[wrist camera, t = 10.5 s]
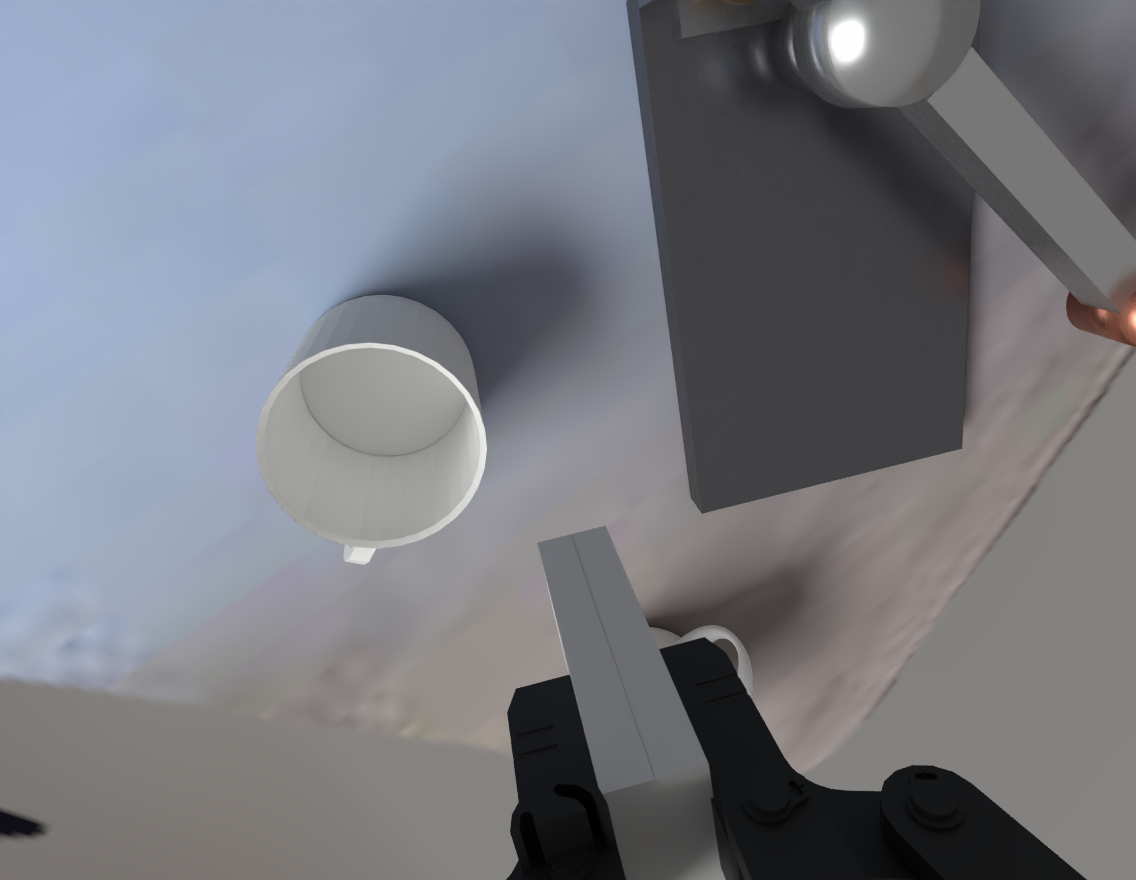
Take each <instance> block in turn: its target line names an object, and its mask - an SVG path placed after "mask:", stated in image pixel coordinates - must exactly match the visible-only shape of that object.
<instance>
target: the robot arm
mask: <svg viewBox="0 0 1136 880" xmlns="http://www.w3.org/2000/svg"><path fill="white" fill-rule="evenodd" d="M537 544H538V548H539V553H540V557H541V561H542V565H543V570H544V574H545V578H546V582H547V587H548V591H549V595H550V599H551V604H552V608H553V612H554V616H555V621H556V625H557V629H558V633H559V638H560V642H561V646H562V650H563V654H564V658H565V662H566V666H567V670H568V674H569V675H566V676H562V677H559V678H555V679H551V680H547V681H544V682H540V683H536V684H532V685H529V686H525V687H521V688H517V689H516V690H515V693H514V696H513V698H512V701H511V704H510V707H509V709H508V712H507V714H508V722H509V730H510V737H511V745H512V753H513V759H514V768H515V776H516V783H517V792H518V799H519V803H518V805H517V806H516V808H515V810H514V812H513V814H512V820H511V829H510V833H511V836H512V839H513V843H514V845H515V849H516V852H517V855H518V859H519V861H518V863H517V865H516V867H515V868H514V870H513V872H512V873H511V875H510V876H509V877H508V878H507V879H506V880H725V879H726V880H1086V879H1085V878H1084V877H1083V876H1082V875H1080V874H1079V873H1078V872H1077V871H1076V870H1075V869H1073V868H1072V867H1071V866H1070V865H1069V864H1067V863H1066V862H1065V861H1064V860H1063V859H1061V858H1060V857H1059V856H1058V855H1057V854H1055V853H1054V852H1053V851H1052V850H1051V849H1049V848H1048V847H1047V846H1046V845H1044V844H1043V843H1042V842H1041V841H1040V840H1039V839H1037V838H1036V837H1035V836H1034V835H1033V834H1031V833H1030V832H1029V831H1028V830H1027V829H1025V828H1024V827H1023V826H1022V825H1020V824H1019V823H1018V822H1017V821H1016V820H1015V819H1013V818H1012V817H1011V816H1010V815H1009V814H1007V813H1006V812H1005V811H1004V810H1003V809H1002V808H1000V807H999V806H998V805H997V804H996V803H994V802H993V801H992V800H991V799H989V798H988V797H987V796H986V795H985V794H984V793H982V792H981V791H980V790H978V788H976V787H975V786H974V785H973V784H972V783H970V782H968V781H967V780H965V779H964V778H962V777H960V776H959V775H957V774H956V773H954V772H952V771H948V770H945V769H941V768H938V767H935V766H922V765H921V766H920V765H918V766H917V765H912V766H909V767H906V768H903V769H900V770H897V771H895V772H894V773H893V774H892V775H891V776H890V777H889V778H887V779H886V780H885V781H884V784H883V787H882V791H879V792H877V791H845V790H836V789H830V788H826V787H823V786H820V785H817V784H815V783H813V782H811V781H809V780H807V779H806V778H805V777H804V776H802V775H801V774H799V773H797V772H796V771H795V770H794V769H793V768H792V767H791V766H790V765H789V763H788V762H787V761H786V759H785V758H784V756H783V754H782V753H781V751H780V749H779V747H778V745H777V744H776V742H775V740H774V738H773V736H772V735H771V733H770V731H769V729H768V727H767V726H766V724H765V722H764V720H763V719H762V717H761V715H760V713H759V711H758V710H757V708H756V706H755V704H754V702H753V701H752V699H751V697H750V695H748V693H747V690H746V688H745V686H744V684H743V683H742V681H741V679H740V677H738V674H737V672H736V670H735V668H734V667H733V665H732V663H731V661H730V659H729V658H728V656H727V654H726V652H724V651H723V650H722V649H720V648H719V647H718V646H716V645H715V644H713V643H712V642H711V641H709V640H708V639H707V638H705V637H703V638H699V639H695V640H691V641H688V642H684V643H680V644H676V645H672V646H669V647H665V648H661V649H659V648H658V646H657V644H656V642H655V639H654V637H653V635H652V632H651V630H650V628H649V625H648V623H647V621H646V618H645V616H644V614H643V612H642V609H641V607H640V605H639V602H638V600H637V598H636V595H635V593H634V591H633V588H632V586H631V584H630V582H629V579H628V577H627V575H626V572H625V570H624V568H623V565H622V563H621V561H620V559H619V556H618V554H617V552H616V549H615V547H614V545H613V542H612V540H611V538H610V535H609V533H608V531H607V529H606V526H603V527H599V528H595V529H591V530H587V531H583V532H579V533H575V534H571V535H567V536H563V537H559V538H555V539H551V540H547V541H543V542H539V543H537Z"/></svg>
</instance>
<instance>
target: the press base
mask: <svg viewBox="0 0 1136 880" xmlns="http://www.w3.org/2000/svg"><path fill="white" fill-rule="evenodd" d="M626 4H627V11H628V19H629V27H630V34H631V42H632V50H633V57H634V65H635V73H636V80H637V88H638V96H639V103H640V111H641V119H642V126H643V134H644V142H645V149H646V157H647V165H648V172H649V180H650V188H651V196H652V203H653V211H654V219H655V226H656V234H657V242H658V249H659V257H660V265H661V272H662V280H663V288H664V295H665V303H666V311H667V318H668V326H669V334H670V341H671V349H672V357H673V364H674V372H675V380H676V387H677V395H678V403H679V410H680V418H681V426H682V433H683V441H684V449H685V457H686V464H687V472H688V480H689V487H690V495H691V499H692V500H693V501H694V503H695V504H696V506H697V507H698V509H699V510H700V512H701V513H706V512H710V511H714V510H718V509H722V508H726V507H730V506H734V505H738V504H742V503H746V502H750V501H754V500H758V499H762V498H766V497H770V496H774V495H778V494H782V493H786V492H790V491H794V490H798V489H802V488H806V487H810V486H814V485H818V484H822V483H826V482H830V481H834V480H838V479H842V478H846V477H850V476H854V475H858V474H862V473H866V472H870V471H874V470H878V469H882V468H886V467H890V466H894V465H898V464H902V463H906V462H910V461H914V460H918V459H922V458H926V457H930V456H934V455H938V454H942V453H946V452H950V451H954V450H958V449H962V439H963V414H964V389H965V364H966V339H967V314H968V290H969V265H970V240H971V215H972V190H973V188H972V187H971V186H970V184H969V183H968V182H967V181H966V180H965V179H964V178H963V177H962V176H961V175H960V174H959V173H958V172H957V171H956V170H955V168H954V167H953V166H952V165H951V164H950V163H949V162H948V161H947V160H946V159H945V158H944V157H943V156H942V155H941V153H940V152H939V151H938V150H937V149H936V148H935V147H934V146H933V145H932V144H931V143H930V142H929V141H928V140H927V139H926V137H925V136H924V135H923V134H922V133H921V132H920V131H919V130H918V129H917V128H916V127H915V126H914V125H913V124H912V123H911V121H910V120H909V119H908V118H907V117H906V116H905V115H904V114H903V113H902V112H901V111H900V110H899V109H898V108H897V107H876V108H842V107H838V106H835V105H832V104H830V103H827V102H826V101H824V100H823V99H821V98H819V97H818V96H817V95H816V94H815V93H814V92H813V91H812V90H811V89H810V88H809V87H808V85H807V84H806V82H805V81H804V79H803V78H802V76H801V73H800V71H799V69H798V66H797V63H796V60H795V55H794V50H793V23H794V17H795V12H796V7H795V6H794V5H793V4H792V3H791V1H790V0H629V1H627V2H626ZM979 16H980V15H979ZM978 41H979V21H978V25H977V30H976V33H975V36H974V39H973V42H972V44H971V46H970V47H972V48H973V49H974V50H975V51H976V52H977V54H978Z"/></svg>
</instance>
